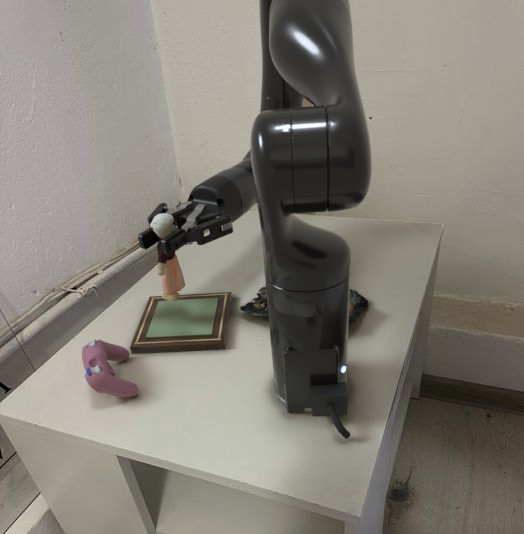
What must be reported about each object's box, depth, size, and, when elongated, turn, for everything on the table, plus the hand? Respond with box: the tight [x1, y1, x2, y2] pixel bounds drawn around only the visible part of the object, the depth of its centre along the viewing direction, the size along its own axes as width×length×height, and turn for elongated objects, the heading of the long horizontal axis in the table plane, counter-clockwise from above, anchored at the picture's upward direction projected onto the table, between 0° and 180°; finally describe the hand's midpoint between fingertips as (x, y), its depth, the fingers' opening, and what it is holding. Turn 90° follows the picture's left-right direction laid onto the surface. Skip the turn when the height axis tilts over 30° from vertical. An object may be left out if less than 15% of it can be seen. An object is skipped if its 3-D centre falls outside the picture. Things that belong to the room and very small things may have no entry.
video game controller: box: [81, 338, 140, 398], centre depth 65 cm, size 10×5×7 cm, turn 21°
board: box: [129, 291, 233, 355], centre depth 76 cm, size 14×14×1 cm
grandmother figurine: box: [149, 213, 186, 301], centre depth 70 cm, size 8×4×13 cm, turn 7°
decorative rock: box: [239, 286, 369, 325], centre depth 75 cm, size 19×6×15 cm
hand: (152, 245), depth 66 cm, fingers open, 3 cm apart
